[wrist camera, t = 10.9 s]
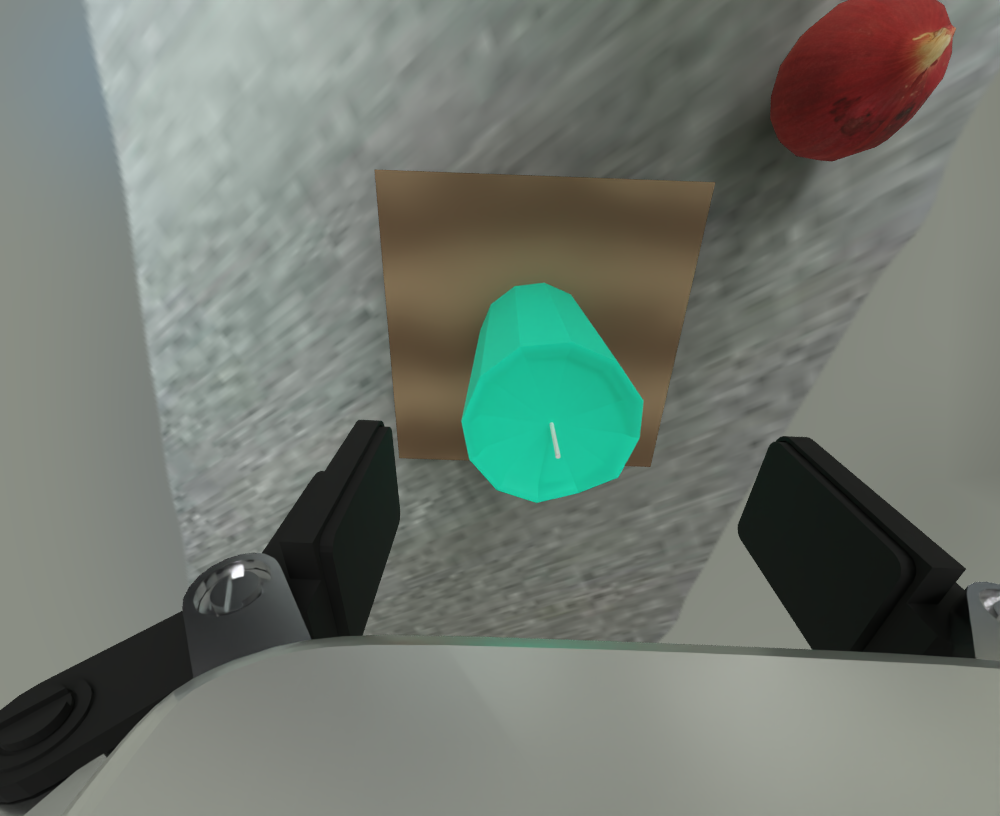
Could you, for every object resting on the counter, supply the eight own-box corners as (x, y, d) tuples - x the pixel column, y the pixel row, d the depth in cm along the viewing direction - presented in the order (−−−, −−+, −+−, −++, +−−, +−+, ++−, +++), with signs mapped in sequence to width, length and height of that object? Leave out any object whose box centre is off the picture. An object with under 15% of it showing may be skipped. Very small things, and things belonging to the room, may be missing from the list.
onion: (856, 142, 22) (1021, 115, 15) (743, 182, 23) (849, 173, 16) (859, 6, 20) (1058, -104, 13) (734, 56, 21) (854, -21, 14)
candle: (474, 380, 24) (447, 522, 14) (487, 273, 22) (467, 345, 11) (575, 394, 25) (629, 544, 14) (600, 290, 22) (691, 376, 11)
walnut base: (394, 174, 23) (374, 169, 20) (682, 185, 23) (715, 182, 20) (411, 427, 30) (399, 458, 27) (633, 435, 30) (650, 466, 27)
